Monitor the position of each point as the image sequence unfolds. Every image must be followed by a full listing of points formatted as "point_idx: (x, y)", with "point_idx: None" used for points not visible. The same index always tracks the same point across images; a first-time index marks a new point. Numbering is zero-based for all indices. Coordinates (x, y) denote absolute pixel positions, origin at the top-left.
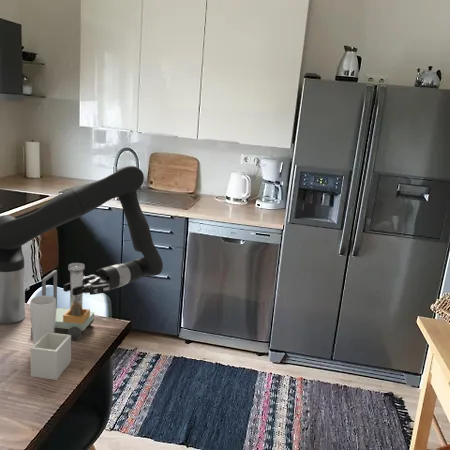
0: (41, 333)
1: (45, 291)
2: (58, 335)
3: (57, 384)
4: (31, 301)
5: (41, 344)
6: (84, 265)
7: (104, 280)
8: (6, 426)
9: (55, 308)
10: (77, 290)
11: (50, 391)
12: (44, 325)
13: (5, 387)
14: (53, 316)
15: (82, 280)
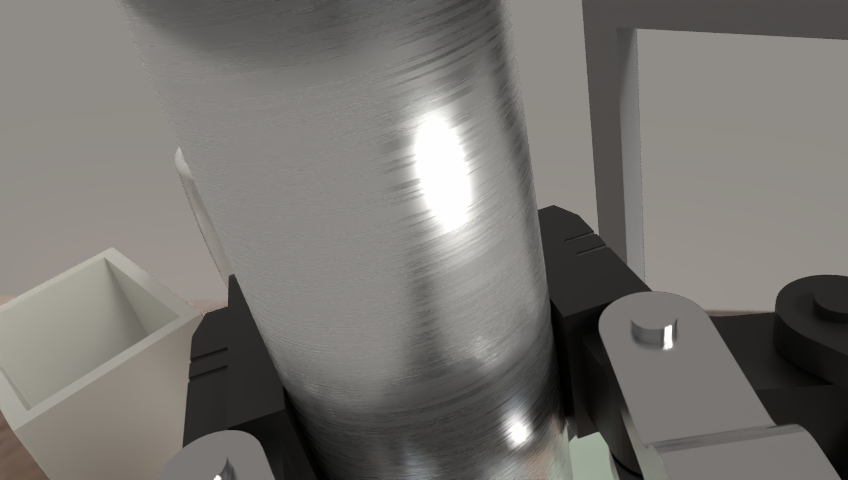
0: None
1: (610, 159)
2: (107, 368)
3: (17, 456)
4: None
5: (153, 310)
6: None
7: None
8: (5, 299)
9: (215, 244)
10: (200, 327)
11: (7, 422)
12: None
13: (190, 301)
14: (227, 287)
15: (266, 309)
